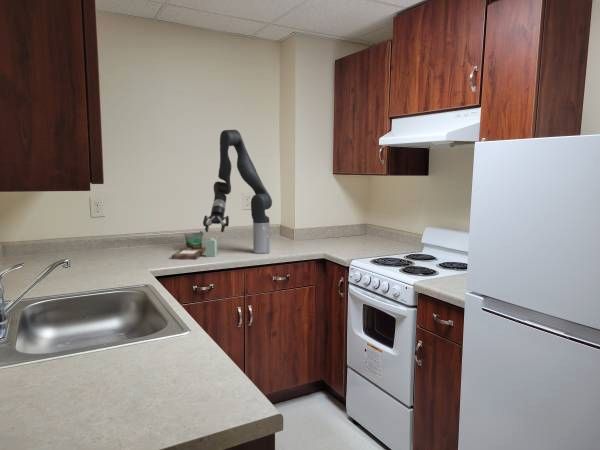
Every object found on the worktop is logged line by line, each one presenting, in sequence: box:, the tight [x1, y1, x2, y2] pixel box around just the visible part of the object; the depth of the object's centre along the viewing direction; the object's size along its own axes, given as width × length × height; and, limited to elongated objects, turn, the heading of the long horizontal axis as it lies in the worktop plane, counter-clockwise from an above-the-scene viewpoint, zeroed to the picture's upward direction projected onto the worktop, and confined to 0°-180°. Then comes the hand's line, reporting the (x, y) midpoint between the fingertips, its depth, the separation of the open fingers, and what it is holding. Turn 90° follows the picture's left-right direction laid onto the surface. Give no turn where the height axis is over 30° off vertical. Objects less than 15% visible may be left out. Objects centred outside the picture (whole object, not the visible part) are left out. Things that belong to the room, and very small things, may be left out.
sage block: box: [204, 237, 218, 258], centre depth 245 cm, size 5×5×10 cm
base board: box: [171, 248, 206, 260], centre depth 246 cm, size 13×18×2 cm
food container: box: [184, 230, 204, 249], centre depth 263 cm, size 12×6×10 cm, turn 143°
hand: (214, 231), depth 252 cm, fingers open, 8 cm apart
